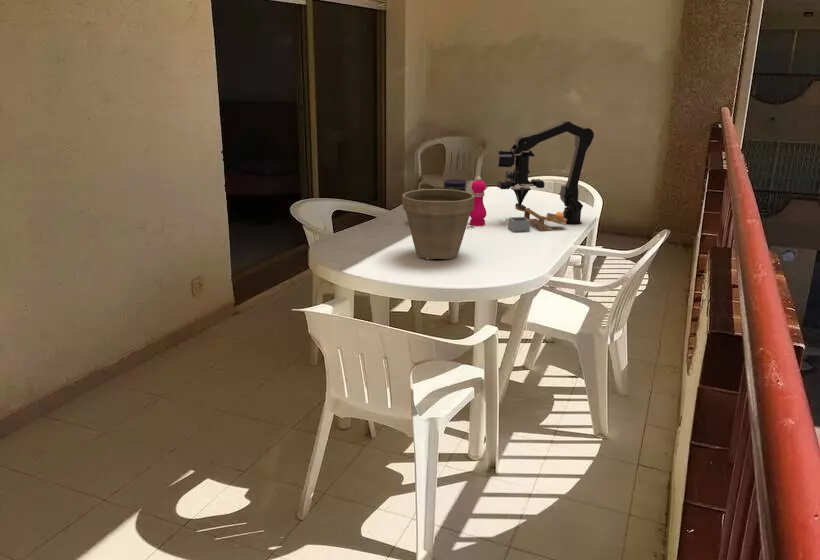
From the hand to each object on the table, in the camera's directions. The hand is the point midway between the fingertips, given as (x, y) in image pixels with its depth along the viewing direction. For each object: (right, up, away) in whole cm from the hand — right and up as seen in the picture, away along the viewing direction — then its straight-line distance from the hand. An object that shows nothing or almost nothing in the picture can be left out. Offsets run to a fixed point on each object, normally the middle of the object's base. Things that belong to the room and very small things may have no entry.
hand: (519, 204), depth 277 cm
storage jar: (-26, -3, +18) cm, 32 cm away
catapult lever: (+8, -5, -3) cm, 10 cm away
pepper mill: (-17, -8, +1) cm, 19 cm away
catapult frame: (+7, -9, -1) cm, 11 cm away
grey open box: (-2, -11, -8) cm, 14 cm away
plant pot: (-36, -23, -42) cm, 60 cm away
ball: (+15, -5, -7) cm, 17 cm away
